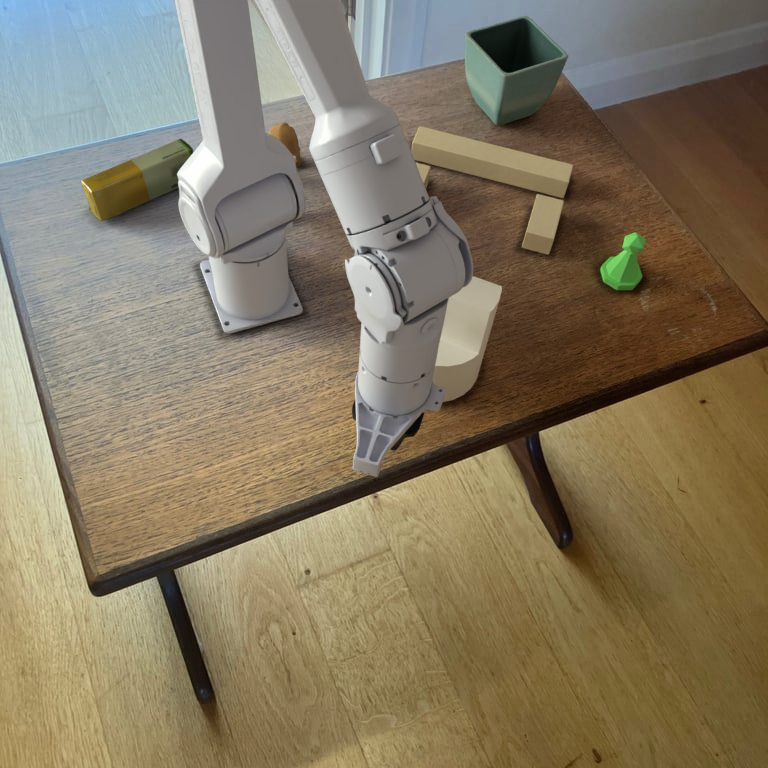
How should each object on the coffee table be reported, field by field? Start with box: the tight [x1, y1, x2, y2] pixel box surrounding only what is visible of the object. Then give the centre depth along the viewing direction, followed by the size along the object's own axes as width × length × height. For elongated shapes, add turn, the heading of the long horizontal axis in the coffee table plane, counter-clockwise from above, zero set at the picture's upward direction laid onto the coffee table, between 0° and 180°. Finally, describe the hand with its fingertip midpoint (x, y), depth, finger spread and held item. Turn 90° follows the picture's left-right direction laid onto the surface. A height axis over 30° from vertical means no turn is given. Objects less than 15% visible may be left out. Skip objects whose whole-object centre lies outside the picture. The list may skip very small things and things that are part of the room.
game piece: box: [599, 231, 647, 291], centre depth 84 cm, size 4×4×6 cm
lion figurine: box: [267, 122, 303, 167], centre depth 86 cm, size 15×5×9 cm, turn 4°
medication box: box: [80, 138, 195, 222], centre depth 87 cm, size 12×3×4 cm, turn 129°
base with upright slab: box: [433, 275, 503, 403], centre depth 74 cm, size 9×9×12 cm
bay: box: [410, 125, 574, 255], centre depth 91 cm, size 12×18×2 cm, turn 73°
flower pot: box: [464, 15, 569, 126], centre depth 96 cm, size 9×9×9 cm
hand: (386, 441), depth 72 cm, fingers closed
